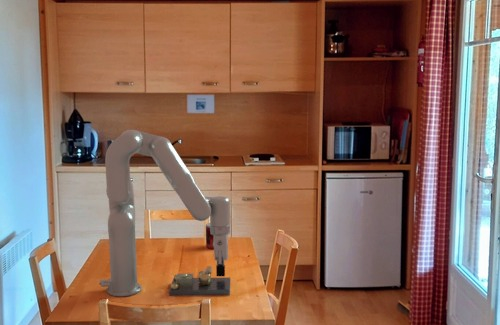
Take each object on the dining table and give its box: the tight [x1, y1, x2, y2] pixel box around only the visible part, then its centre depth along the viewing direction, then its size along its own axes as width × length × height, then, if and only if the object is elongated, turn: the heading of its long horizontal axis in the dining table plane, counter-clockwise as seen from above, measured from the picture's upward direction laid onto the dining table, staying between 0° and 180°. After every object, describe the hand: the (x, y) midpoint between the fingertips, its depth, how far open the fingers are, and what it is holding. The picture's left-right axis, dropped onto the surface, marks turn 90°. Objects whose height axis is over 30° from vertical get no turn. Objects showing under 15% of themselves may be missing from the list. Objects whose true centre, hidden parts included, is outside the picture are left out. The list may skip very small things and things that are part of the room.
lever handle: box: [197, 265, 213, 285], centre depth 217 cm, size 12×5×4 cm, turn 173°
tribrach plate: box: [168, 273, 231, 297], centre depth 213 cm, size 22×13×6 cm, turn 91°
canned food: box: [205, 222, 214, 250], centre depth 266 cm, size 8×8×11 cm
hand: (220, 275), depth 218 cm, fingers closed
